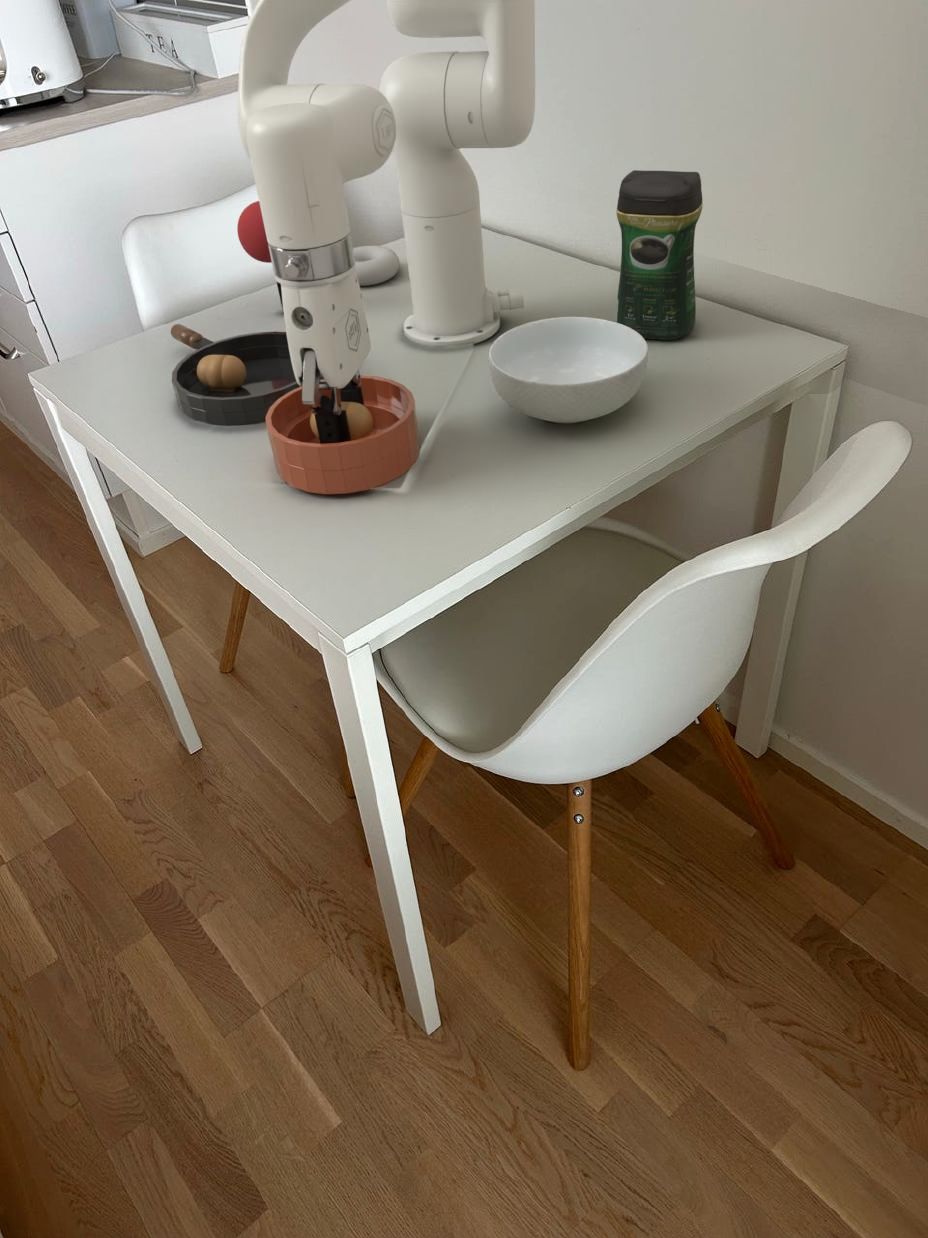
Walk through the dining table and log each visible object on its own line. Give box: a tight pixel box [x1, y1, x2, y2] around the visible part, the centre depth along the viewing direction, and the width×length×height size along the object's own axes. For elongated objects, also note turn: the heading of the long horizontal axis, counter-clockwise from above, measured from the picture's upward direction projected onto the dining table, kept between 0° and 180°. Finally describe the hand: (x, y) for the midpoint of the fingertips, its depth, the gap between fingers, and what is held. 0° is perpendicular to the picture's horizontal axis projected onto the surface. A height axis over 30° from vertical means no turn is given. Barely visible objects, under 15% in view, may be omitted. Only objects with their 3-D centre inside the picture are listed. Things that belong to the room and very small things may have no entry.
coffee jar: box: [615, 169, 704, 340], centre depth 115 cm, size 10×8×19 cm
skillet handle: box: [170, 323, 215, 350], centre depth 123 cm, size 10×2×2 cm, turn 42°
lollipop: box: [236, 200, 284, 315], centre depth 131 cm, size 8×8×15 cm
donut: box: [352, 245, 401, 287], centre depth 143 cm, size 10×4×10 cm
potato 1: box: [197, 355, 246, 392], centre depth 116 cm, size 6×4×4 cm, turn 77°
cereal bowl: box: [488, 316, 649, 424], centre depth 105 cm, size 17×17×7 cm
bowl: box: [265, 374, 421, 495], centre depth 100 cm, size 15×15×6 cm
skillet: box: [171, 331, 324, 427], centre depth 115 cm, size 18×18×4 cm
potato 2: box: [310, 402, 373, 441], centre depth 99 cm, size 7×4×4 cm, turn 77°
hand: (343, 432), depth 100 cm, fingers closed on potato 2, 4 cm apart
